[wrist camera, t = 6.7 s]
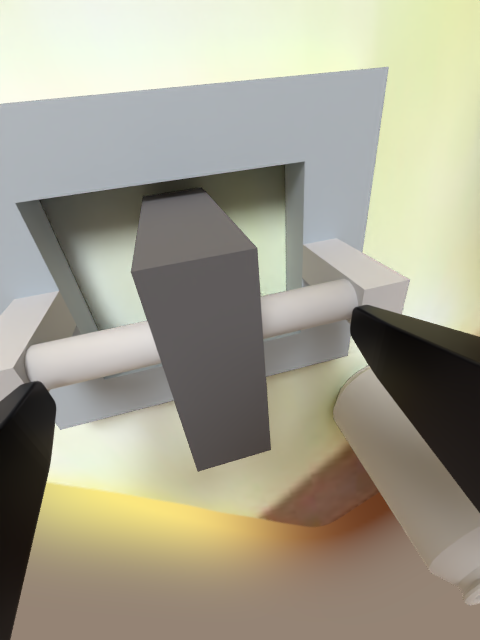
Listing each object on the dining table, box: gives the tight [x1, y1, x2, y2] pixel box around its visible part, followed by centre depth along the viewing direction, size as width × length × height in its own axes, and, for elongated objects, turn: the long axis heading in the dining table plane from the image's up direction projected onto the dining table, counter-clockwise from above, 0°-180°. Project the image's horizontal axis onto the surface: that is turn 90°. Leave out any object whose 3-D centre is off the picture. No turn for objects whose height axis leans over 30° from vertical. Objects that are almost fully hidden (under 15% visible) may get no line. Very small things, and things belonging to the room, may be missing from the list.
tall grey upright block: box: [131, 188, 271, 471], centre depth 11 cm, size 2×7×8 cm, turn 6°
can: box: [333, 366, 480, 605], centre depth 18 cm, size 8×8×12 cm
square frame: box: [0, 67, 410, 430], centre depth 11 cm, size 16×13×6 cm
